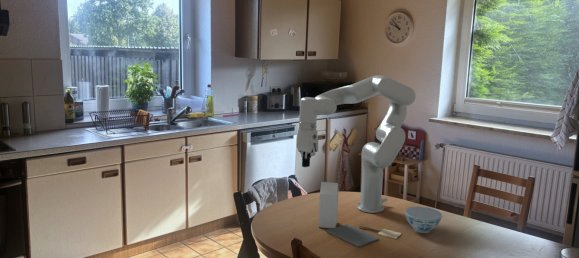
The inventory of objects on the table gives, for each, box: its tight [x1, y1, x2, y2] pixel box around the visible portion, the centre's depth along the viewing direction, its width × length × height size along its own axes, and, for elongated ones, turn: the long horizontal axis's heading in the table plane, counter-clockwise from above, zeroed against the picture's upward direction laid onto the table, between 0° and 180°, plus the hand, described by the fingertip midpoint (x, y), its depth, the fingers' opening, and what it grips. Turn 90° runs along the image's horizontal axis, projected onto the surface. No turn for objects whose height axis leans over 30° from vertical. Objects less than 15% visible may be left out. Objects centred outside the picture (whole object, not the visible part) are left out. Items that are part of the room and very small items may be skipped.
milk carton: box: [318, 181, 339, 229], centre depth 209 cm, size 7×7×19 cm
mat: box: [326, 223, 380, 248], centre depth 200 cm, size 12×18×1 cm, turn 38°
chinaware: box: [404, 205, 443, 234], centre depth 207 cm, size 15×15×8 cm
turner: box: [358, 224, 402, 240], centre depth 205 cm, size 6×17×1 cm, turn 58°
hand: (305, 166), depth 217 cm, fingers closed
